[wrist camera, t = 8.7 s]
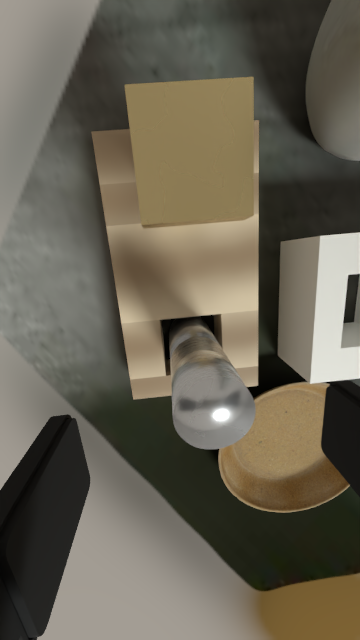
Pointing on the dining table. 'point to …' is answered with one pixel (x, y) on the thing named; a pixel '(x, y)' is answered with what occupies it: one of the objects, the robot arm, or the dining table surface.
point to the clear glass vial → (206, 388)
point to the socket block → (177, 273)
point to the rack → (319, 307)
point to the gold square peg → (193, 150)
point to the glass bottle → (336, 81)
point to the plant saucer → (283, 453)
